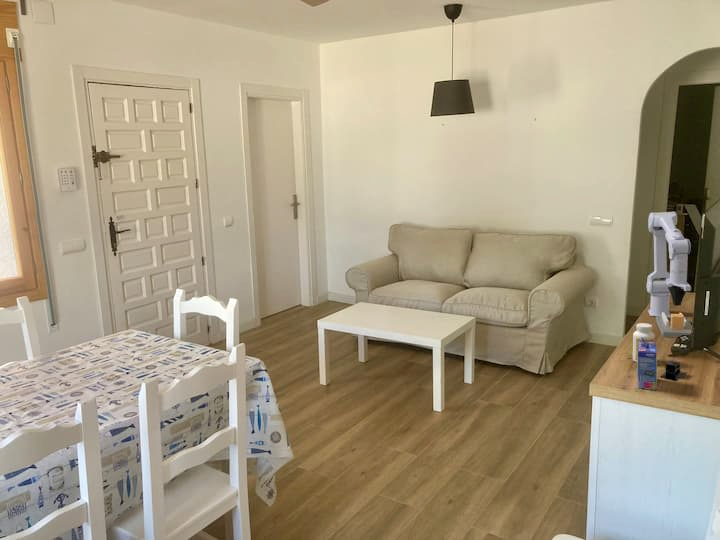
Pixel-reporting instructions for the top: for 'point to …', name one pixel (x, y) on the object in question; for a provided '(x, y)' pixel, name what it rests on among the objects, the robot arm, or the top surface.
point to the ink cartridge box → (647, 365)
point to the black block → (673, 371)
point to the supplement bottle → (642, 336)
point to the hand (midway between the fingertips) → (677, 305)
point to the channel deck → (667, 331)
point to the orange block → (677, 321)
